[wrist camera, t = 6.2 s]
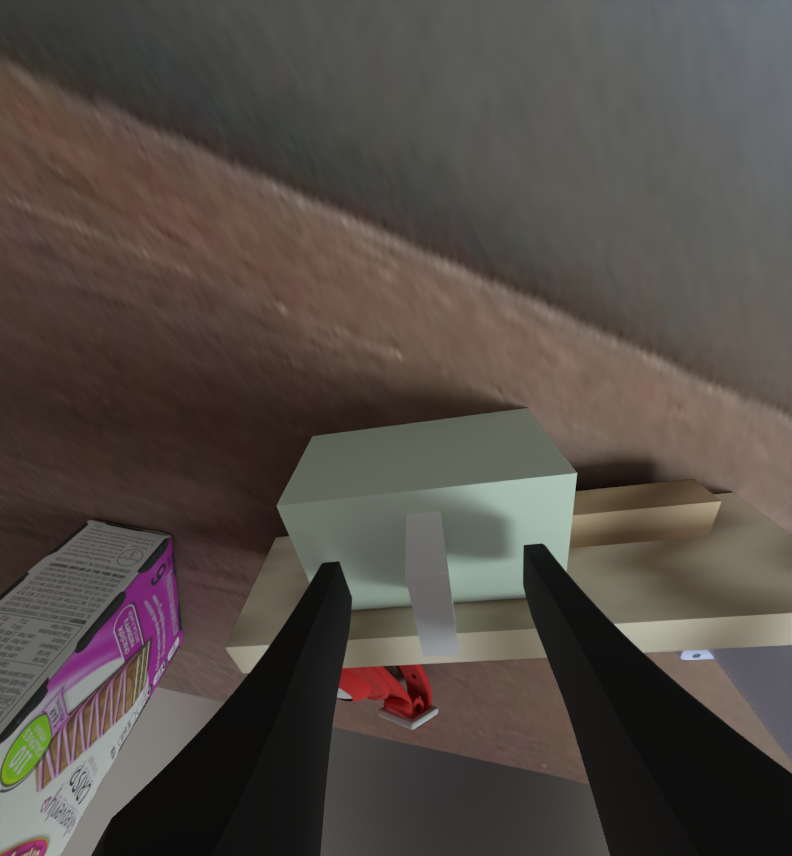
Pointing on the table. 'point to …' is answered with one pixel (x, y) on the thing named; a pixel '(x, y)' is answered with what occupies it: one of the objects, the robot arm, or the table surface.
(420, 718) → the tracker holder
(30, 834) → the candy bar box
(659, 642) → the wall board
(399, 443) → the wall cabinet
